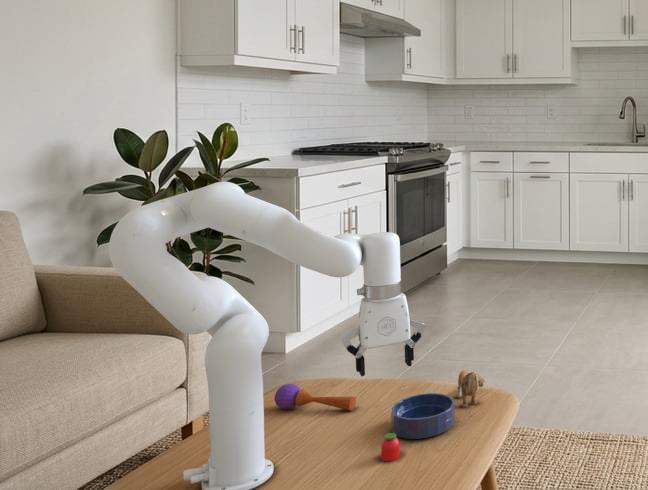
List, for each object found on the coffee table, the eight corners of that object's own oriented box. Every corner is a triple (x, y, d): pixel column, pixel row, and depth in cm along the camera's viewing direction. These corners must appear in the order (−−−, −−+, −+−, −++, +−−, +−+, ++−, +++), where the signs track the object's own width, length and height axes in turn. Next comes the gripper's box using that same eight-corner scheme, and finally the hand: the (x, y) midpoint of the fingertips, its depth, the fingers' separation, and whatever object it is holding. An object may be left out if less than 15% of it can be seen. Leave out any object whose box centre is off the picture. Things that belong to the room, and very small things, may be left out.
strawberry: (383, 463, 140) (383, 441, 140) (379, 455, 144) (379, 434, 143) (402, 457, 142) (401, 436, 142) (397, 450, 146) (397, 429, 146)
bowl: (400, 447, 147) (400, 425, 147) (385, 422, 159) (385, 402, 159) (463, 430, 155) (462, 409, 155) (443, 408, 167) (443, 388, 167)
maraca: (346, 400, 162) (268, 391, 164) (347, 421, 164) (270, 412, 165) (358, 386, 168) (283, 377, 170) (358, 406, 170) (284, 398, 171)
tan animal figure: (487, 407, 167) (487, 372, 167) (467, 413, 164) (466, 377, 164) (467, 388, 179) (466, 355, 179) (447, 392, 176) (447, 359, 176)
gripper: (342, 301, 135) (345, 384, 136) (427, 288, 144) (430, 366, 145) (337, 293, 142) (339, 372, 142) (419, 281, 151) (421, 355, 151)
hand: (385, 369), depth 144 cm, fingers open, 9 cm apart
